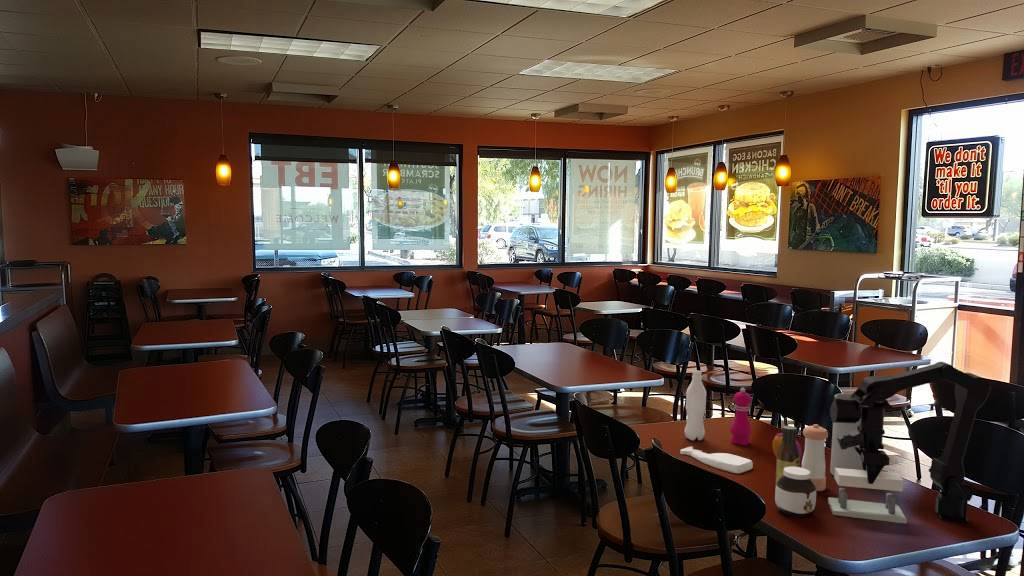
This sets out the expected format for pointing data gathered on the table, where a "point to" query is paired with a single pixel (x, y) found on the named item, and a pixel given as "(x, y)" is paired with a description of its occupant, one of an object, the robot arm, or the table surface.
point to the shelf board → (860, 479)
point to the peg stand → (867, 508)
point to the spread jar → (795, 492)
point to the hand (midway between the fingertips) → (868, 479)
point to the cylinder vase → (844, 456)
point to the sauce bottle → (787, 451)
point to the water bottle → (695, 407)
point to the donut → (777, 443)
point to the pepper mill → (741, 419)
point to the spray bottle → (720, 460)
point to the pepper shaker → (815, 455)
